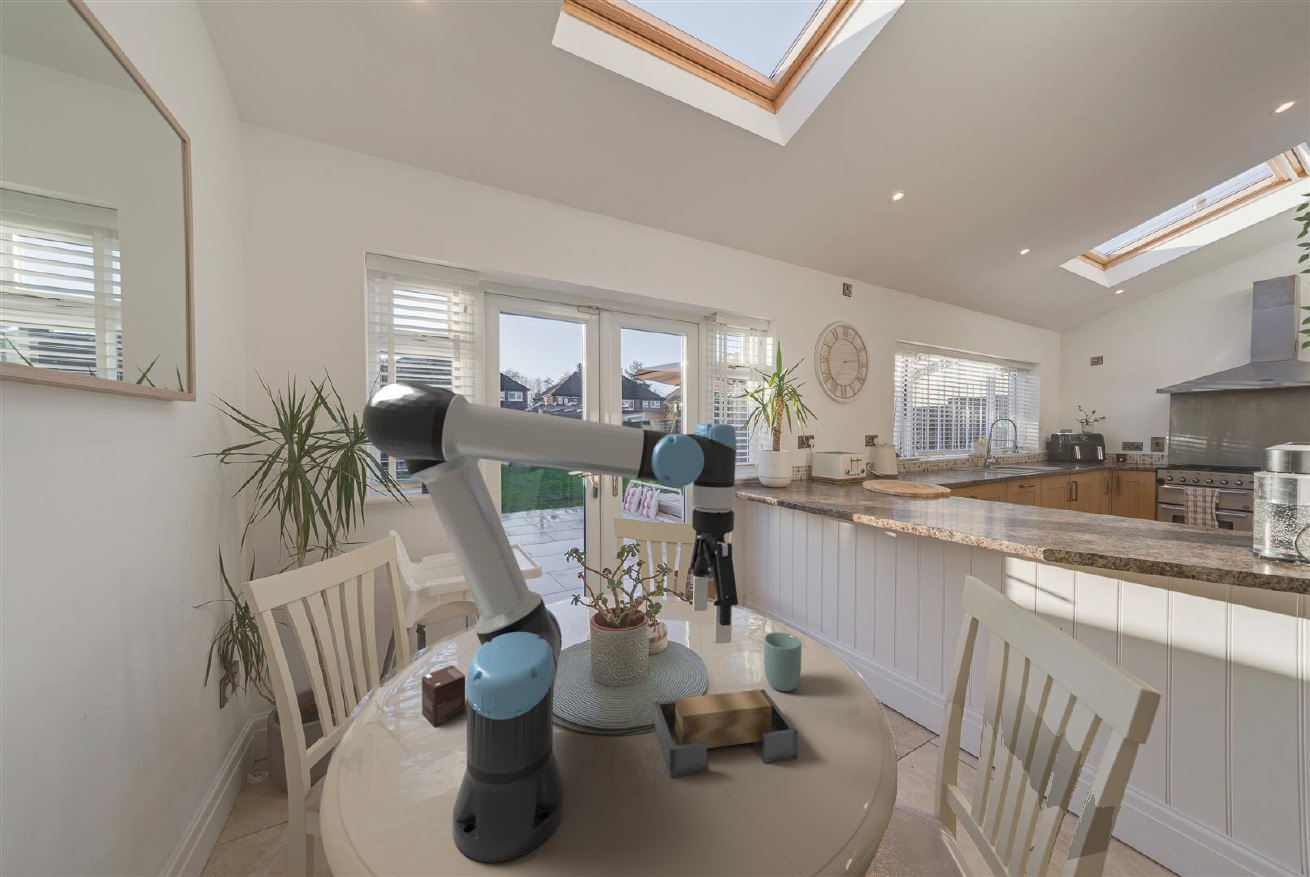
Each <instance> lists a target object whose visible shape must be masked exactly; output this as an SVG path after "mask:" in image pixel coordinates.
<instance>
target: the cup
mask: <svg viewBox="0 0 1310 877" xmlns="http://www.w3.org/2000/svg"><path fill="white" fill-rule="evenodd" d="M763 642H764V643H763V663H764V665H763V666H764V675H765V678H766V681H767V683H768V684H769V685H770V687H772V688H773V689H774V690H777V691H780V692H790V691H793V690H795V689H797V686H798V685H799V683H800V680H801V679H800V678H801V672H802V655H803V654H802V652H803V651H802V648H803V647H802V641H801V640H800V639H799V637H797V636H795V635H793V634H790V633H786V632H780V631H779V632H777V631H774V632H769V633H767V634H766V635H765V636H764V641H763Z"/></svg>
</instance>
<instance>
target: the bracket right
mask: <svg viewBox="0 0 1310 877" xmlns="http://www.w3.org/2000/svg"><path fill="white" fill-rule="evenodd" d="M759 690H760V691H761V693H762V694H763V695H764V697H765V698H766V699H767V700H768V702H769V703H770V704H771V732H769V733H762V741H758V742H750V743H751V744H752V746H753V748H754V749H755V750H756V752H757V755H758V756H759V757H760V759H761V761H762V762H763V764H770V763H775V762H776V763H777V762H782V761H783V762H784V761H788V760H795V759H798V742H799V741H798V740H799V738H798V734H799V733H798V730H797V729H796V728H795V727H794V726H793V724H792V723H791V722H790V720H789V719H788V718H787V717H786V716H787V715H785V714H784V713H783V711H782V710H781V709H780V708H779V706H778V705H777V704H776V702H775V701H774V700H773V698H771V696H770V695H769V694H768V692H767V691H766V690H765V689H759Z"/></svg>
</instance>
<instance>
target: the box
mask: <svg viewBox="0 0 1310 877" xmlns="http://www.w3.org/2000/svg"><path fill="white" fill-rule="evenodd" d="M465 713H466V675H465V674H464V673H463V672H461V671H460V670H459V669H458V668H456V666H454V665H453V664H451V665H449V666H447V667H444V668H441V669H439V670H436V671H433V672H429V673H427V674H426V675H423V676H421V714H422V715H423V716H424V718H426V719H427V721H428V722H429V723H430V724H431V725H432V726H433V727H437V726H439V725H441V724H443V723H445V722H447V721H450V720H451V719H454V718H456V717H458V716H461V715H462V714H465Z"/></svg>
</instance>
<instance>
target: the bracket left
mask: <svg viewBox="0 0 1310 877" xmlns="http://www.w3.org/2000/svg"><path fill="white" fill-rule="evenodd" d="M653 709H654V710H653V728H654V731H655V736H656V737H657V741H658V743H659V747H660V751H661V753H662V755H663V759H664V763H665V765H666V769H667V771H668V774H669V778H670V779H674V778H680V777H687V776H692V775H699V774H705V773H707V772H708V769H707V768H708V766H707V765H708V764H707V763H708V748H707V744H706V742H698V743H691V744H684V745H680V743H679V741H678V738H677V735H676V732H675V718H676V699H673V700H671V699H670V700H666V701H665V700H663V701H656V702H654V704H653Z"/></svg>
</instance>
